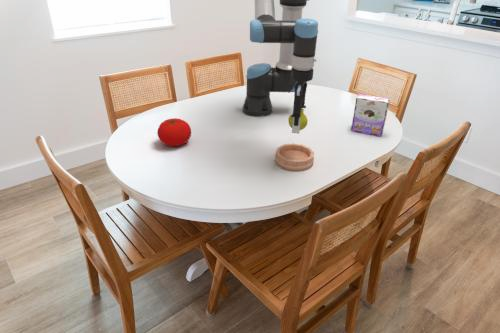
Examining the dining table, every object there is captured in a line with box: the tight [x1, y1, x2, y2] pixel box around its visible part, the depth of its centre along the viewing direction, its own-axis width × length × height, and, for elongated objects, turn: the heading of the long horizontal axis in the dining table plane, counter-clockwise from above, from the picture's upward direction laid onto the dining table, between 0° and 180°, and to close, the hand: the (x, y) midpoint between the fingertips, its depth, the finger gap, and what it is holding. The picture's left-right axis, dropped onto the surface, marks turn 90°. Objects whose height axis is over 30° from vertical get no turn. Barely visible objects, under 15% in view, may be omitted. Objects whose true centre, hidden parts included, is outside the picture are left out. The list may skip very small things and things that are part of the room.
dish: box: [274, 143, 315, 172], centre depth 146 cm, size 15×15×4 cm
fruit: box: [288, 99, 308, 131], centre depth 137 cm, size 7×7×12 cm
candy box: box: [350, 93, 391, 137], centre depth 168 cm, size 14×6×16 cm, turn 65°
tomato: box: [156, 117, 192, 147], centre depth 156 cm, size 14×13×10 cm
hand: (297, 128), depth 140 cm, fingers closed on fruit, 7 cm apart
